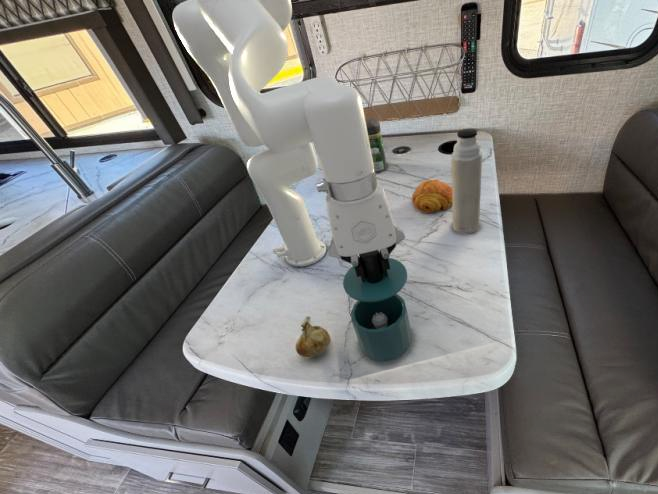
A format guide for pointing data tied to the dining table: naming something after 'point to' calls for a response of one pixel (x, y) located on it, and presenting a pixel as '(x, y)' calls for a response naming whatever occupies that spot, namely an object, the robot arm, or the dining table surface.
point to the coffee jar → (376, 144)
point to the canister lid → (375, 279)
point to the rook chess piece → (379, 321)
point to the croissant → (432, 196)
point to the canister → (384, 340)
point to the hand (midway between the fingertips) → (374, 274)
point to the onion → (312, 340)
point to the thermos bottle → (466, 181)
